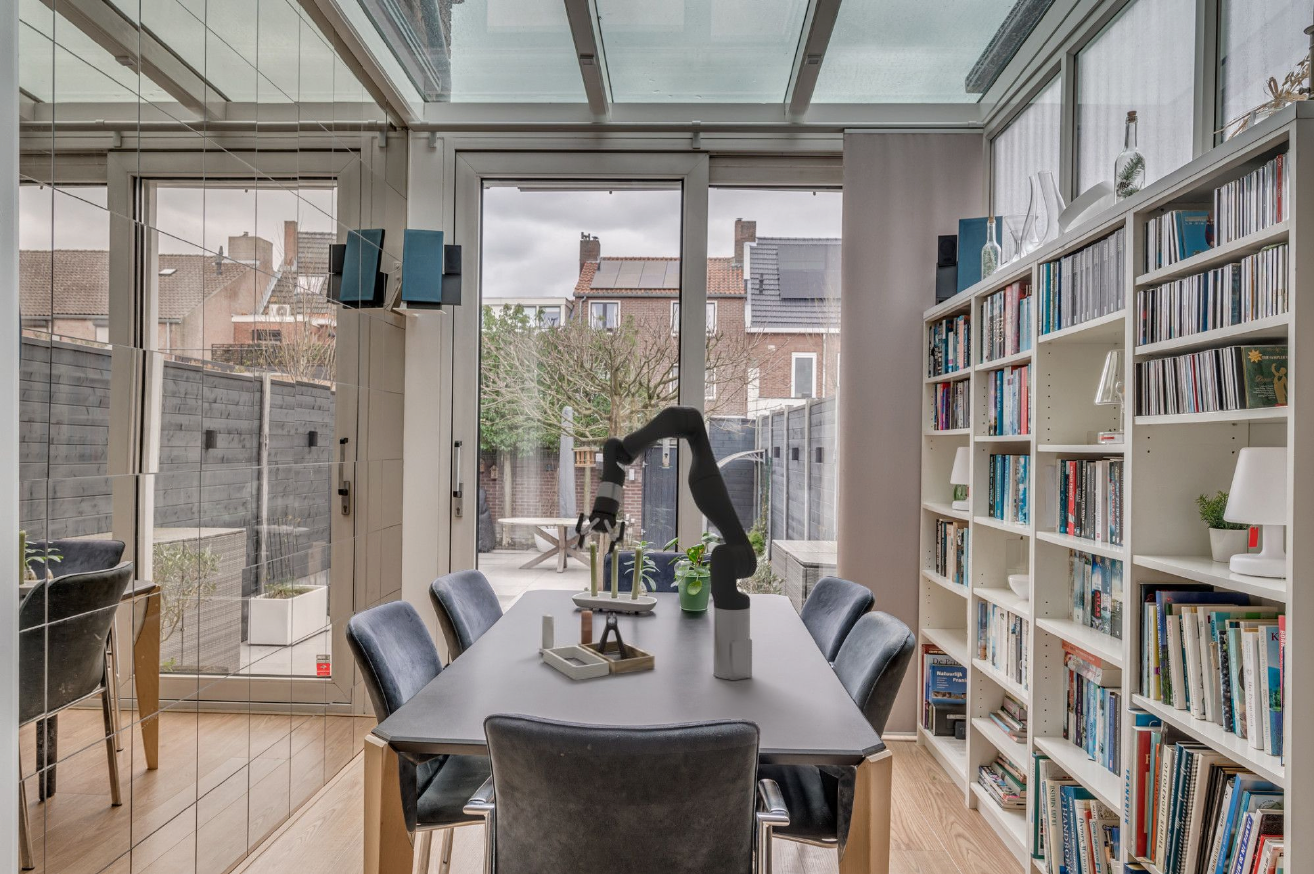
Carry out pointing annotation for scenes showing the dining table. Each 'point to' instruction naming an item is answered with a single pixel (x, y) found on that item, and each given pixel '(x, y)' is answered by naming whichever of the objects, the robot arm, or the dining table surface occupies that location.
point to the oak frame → (614, 650)
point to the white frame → (569, 655)
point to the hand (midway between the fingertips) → (594, 551)
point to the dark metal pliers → (621, 646)
